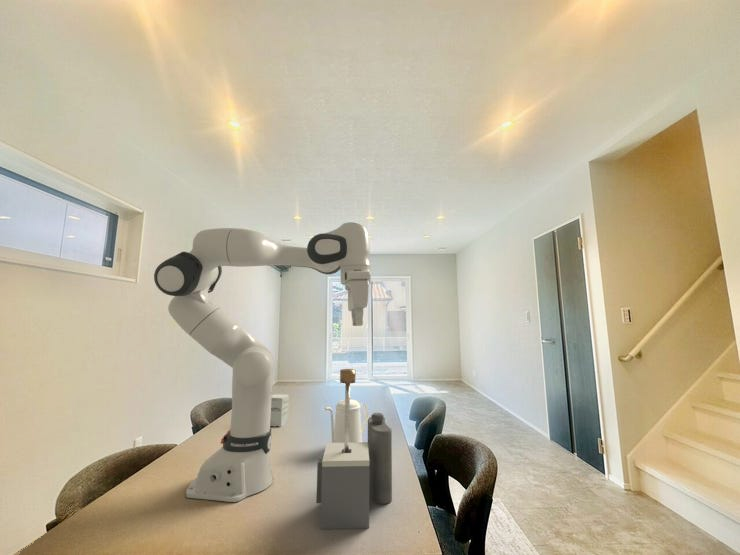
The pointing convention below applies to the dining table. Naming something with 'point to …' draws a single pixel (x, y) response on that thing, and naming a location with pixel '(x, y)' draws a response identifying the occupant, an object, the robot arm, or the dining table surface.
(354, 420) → the coffeepot
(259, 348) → the robot arm
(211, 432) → the dining table surface
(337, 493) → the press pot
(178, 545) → the dining table surface
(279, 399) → the supplement box
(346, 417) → the plunger
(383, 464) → the flask
